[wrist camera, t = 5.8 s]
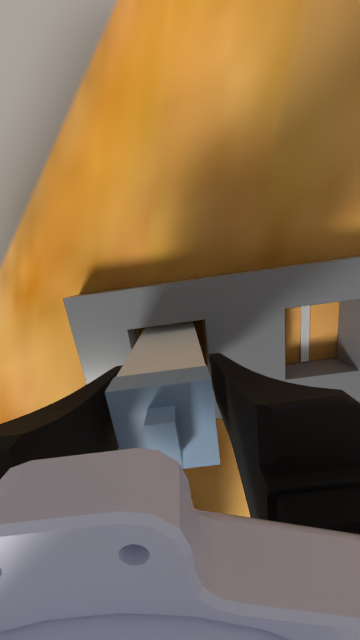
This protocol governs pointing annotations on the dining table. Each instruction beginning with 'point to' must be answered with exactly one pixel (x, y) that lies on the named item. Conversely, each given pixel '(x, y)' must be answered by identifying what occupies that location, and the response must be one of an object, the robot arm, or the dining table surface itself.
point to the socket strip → (231, 320)
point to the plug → (166, 397)
